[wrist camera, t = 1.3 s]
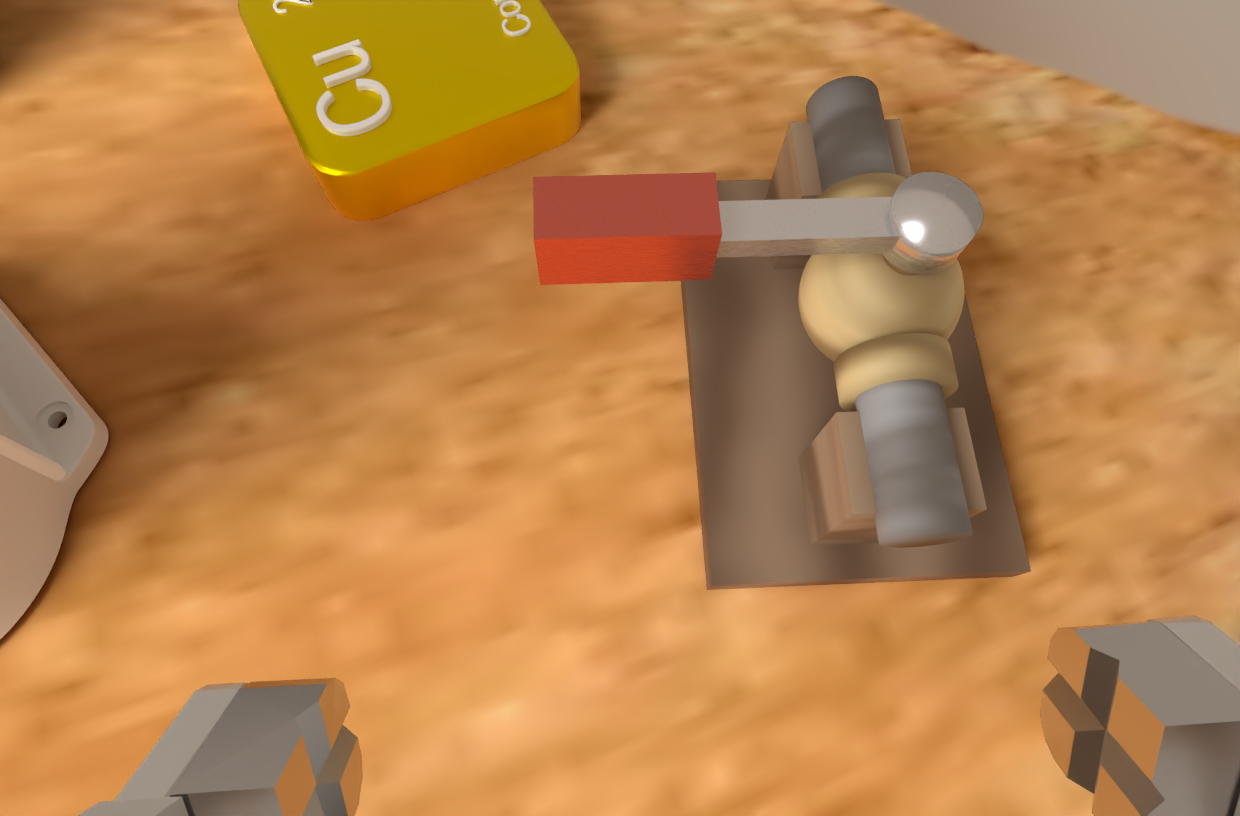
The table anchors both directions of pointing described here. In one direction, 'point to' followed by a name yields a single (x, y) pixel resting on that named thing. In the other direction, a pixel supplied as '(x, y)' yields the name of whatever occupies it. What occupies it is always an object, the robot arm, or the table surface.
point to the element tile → (415, 91)
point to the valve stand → (842, 392)
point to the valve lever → (736, 226)
